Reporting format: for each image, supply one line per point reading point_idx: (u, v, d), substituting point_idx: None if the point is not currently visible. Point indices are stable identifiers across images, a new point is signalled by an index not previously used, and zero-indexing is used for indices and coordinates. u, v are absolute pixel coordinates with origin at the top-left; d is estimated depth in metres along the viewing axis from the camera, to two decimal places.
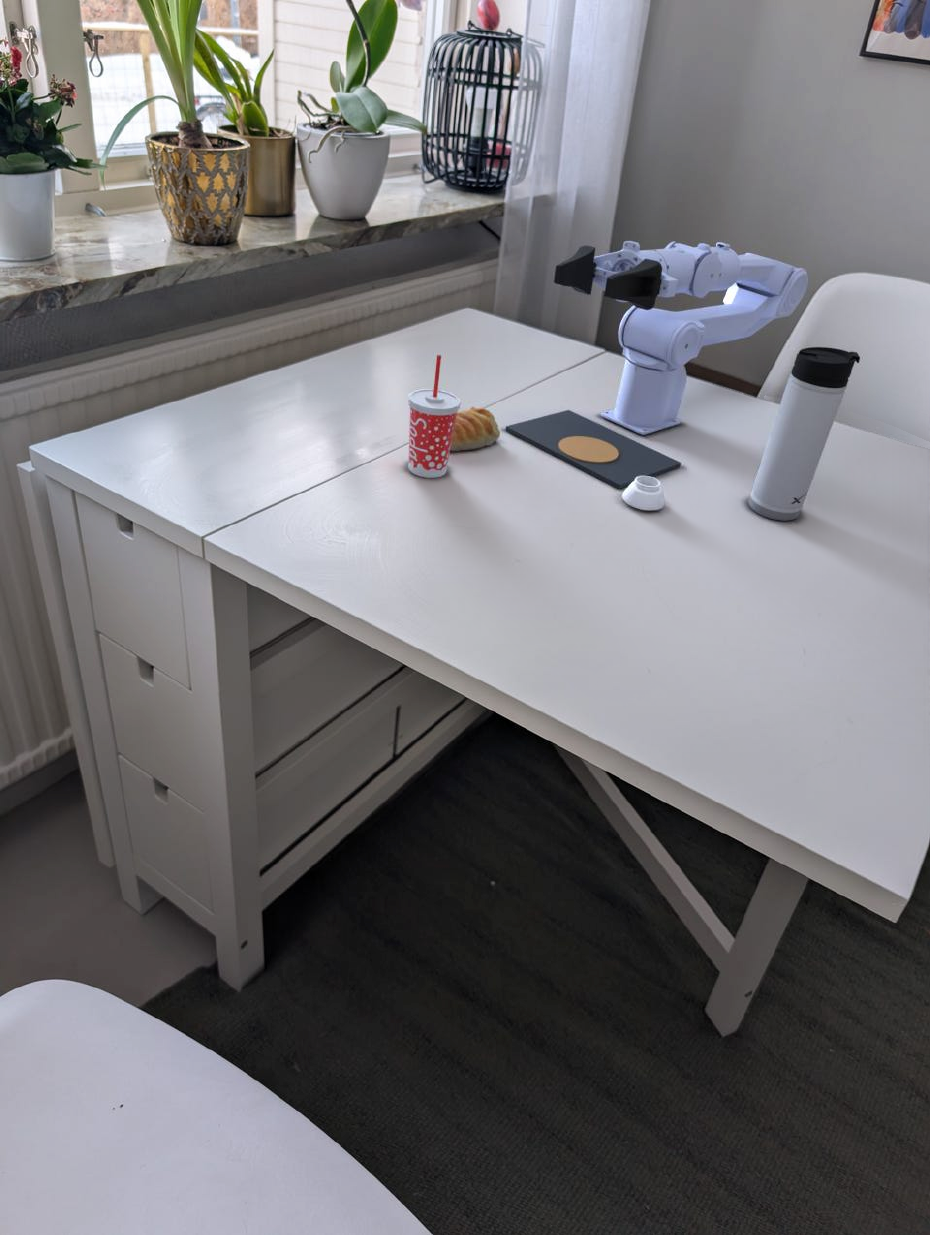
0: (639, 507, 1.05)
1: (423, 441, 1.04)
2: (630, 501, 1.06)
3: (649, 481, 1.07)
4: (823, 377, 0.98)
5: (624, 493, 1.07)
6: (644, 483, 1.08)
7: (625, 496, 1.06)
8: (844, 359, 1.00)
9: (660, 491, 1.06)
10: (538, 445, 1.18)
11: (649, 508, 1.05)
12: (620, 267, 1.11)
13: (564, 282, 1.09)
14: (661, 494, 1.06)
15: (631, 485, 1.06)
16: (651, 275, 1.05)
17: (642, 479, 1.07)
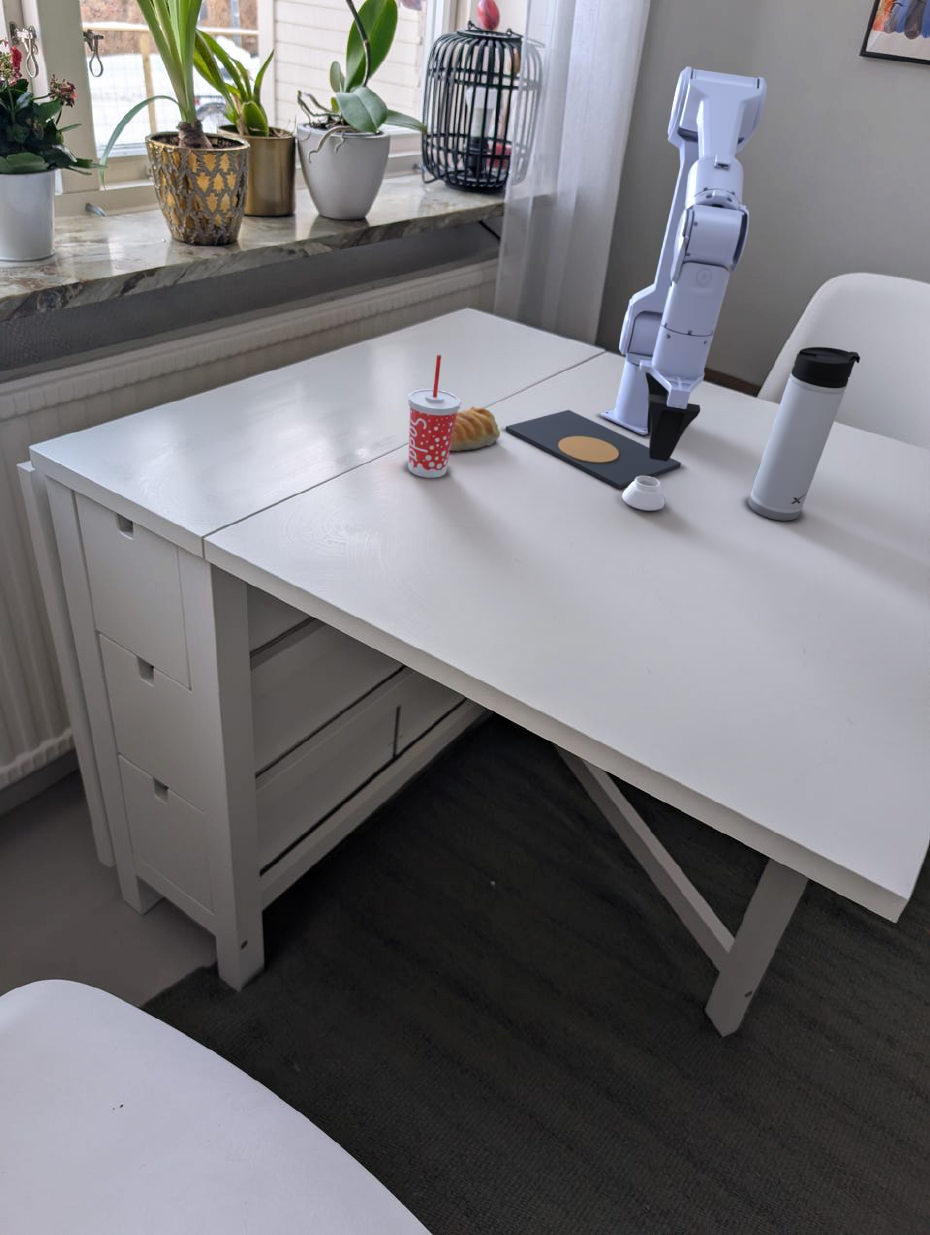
0: (639, 507, 1.05)
1: (423, 441, 1.04)
2: (630, 501, 1.06)
3: (649, 481, 1.07)
4: (823, 377, 0.98)
5: (624, 493, 1.07)
6: (644, 483, 1.08)
7: (625, 496, 1.06)
8: (844, 359, 1.00)
9: (660, 491, 1.06)
10: (538, 445, 1.18)
11: (649, 508, 1.05)
12: None
13: None
14: (661, 494, 1.06)
15: (631, 485, 1.06)
16: (659, 414, 0.95)
17: (642, 479, 1.07)
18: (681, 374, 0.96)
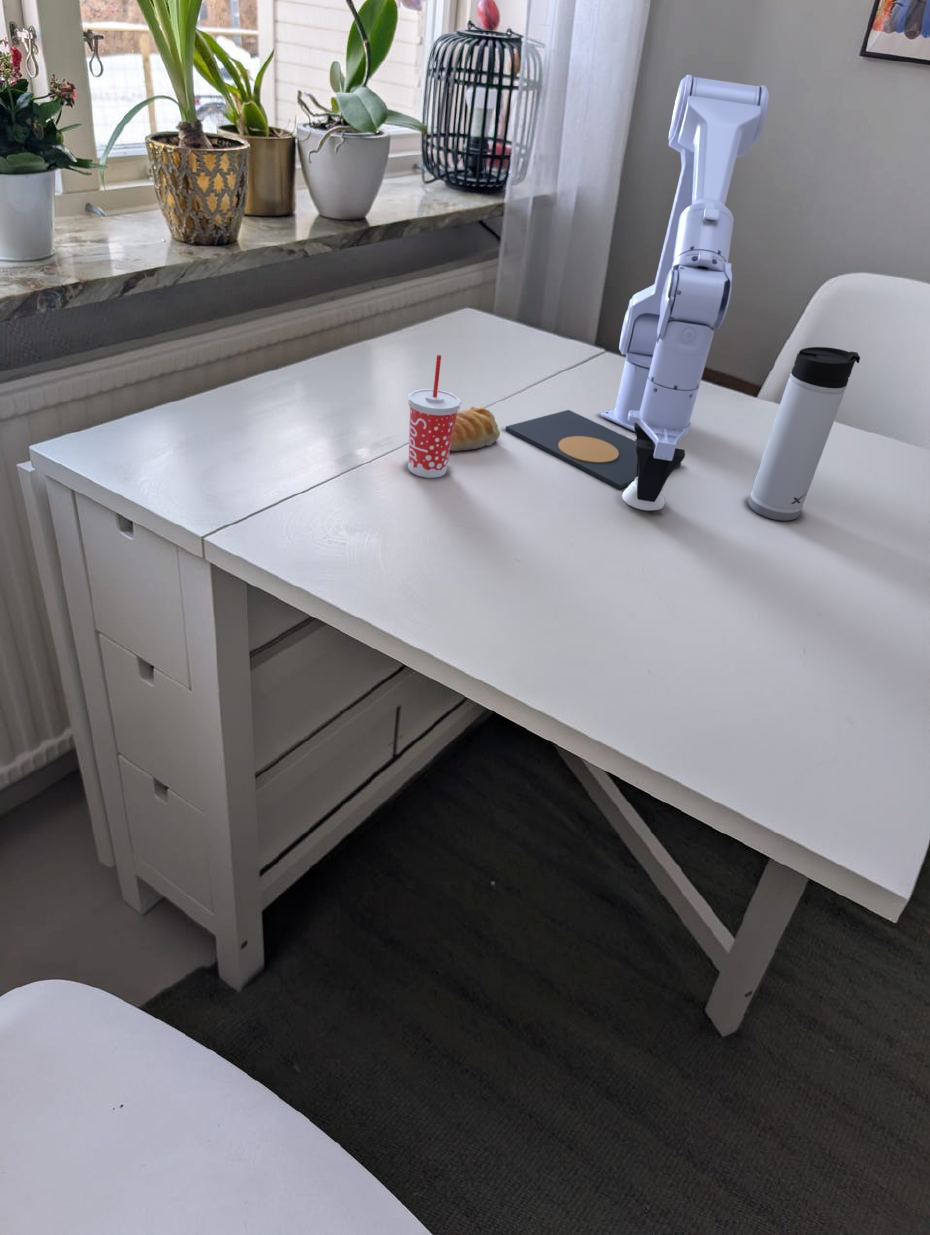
0: (639, 507, 1.05)
1: (423, 441, 1.04)
2: (630, 501, 1.06)
3: None
4: (823, 377, 0.98)
5: (624, 493, 1.07)
6: None
7: (625, 496, 1.06)
8: (844, 359, 1.00)
9: None
10: (538, 445, 1.18)
11: (649, 508, 1.05)
12: None
13: None
14: (661, 494, 1.06)
15: (631, 485, 1.06)
16: (646, 458, 1.00)
17: None
18: (668, 426, 0.99)
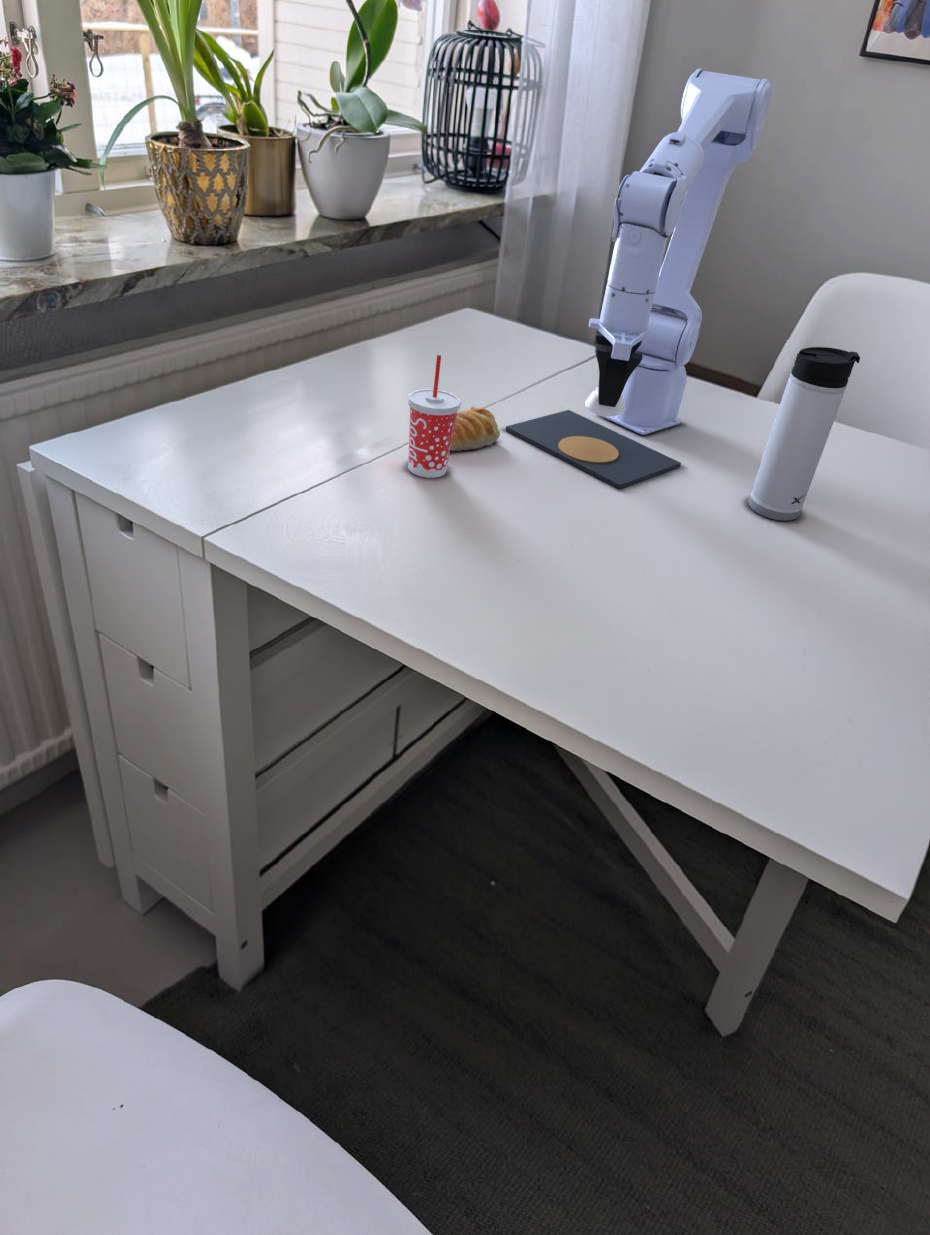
0: (600, 412, 1.10)
1: (423, 441, 1.04)
2: (592, 407, 1.11)
3: None
4: (823, 377, 0.98)
5: (587, 400, 1.12)
6: None
7: (587, 403, 1.12)
8: (844, 359, 1.00)
9: (621, 397, 1.11)
10: (538, 445, 1.18)
11: (610, 413, 1.10)
12: None
13: None
14: (621, 400, 1.11)
15: (593, 392, 1.11)
16: (605, 362, 1.05)
17: None
18: (625, 330, 1.04)
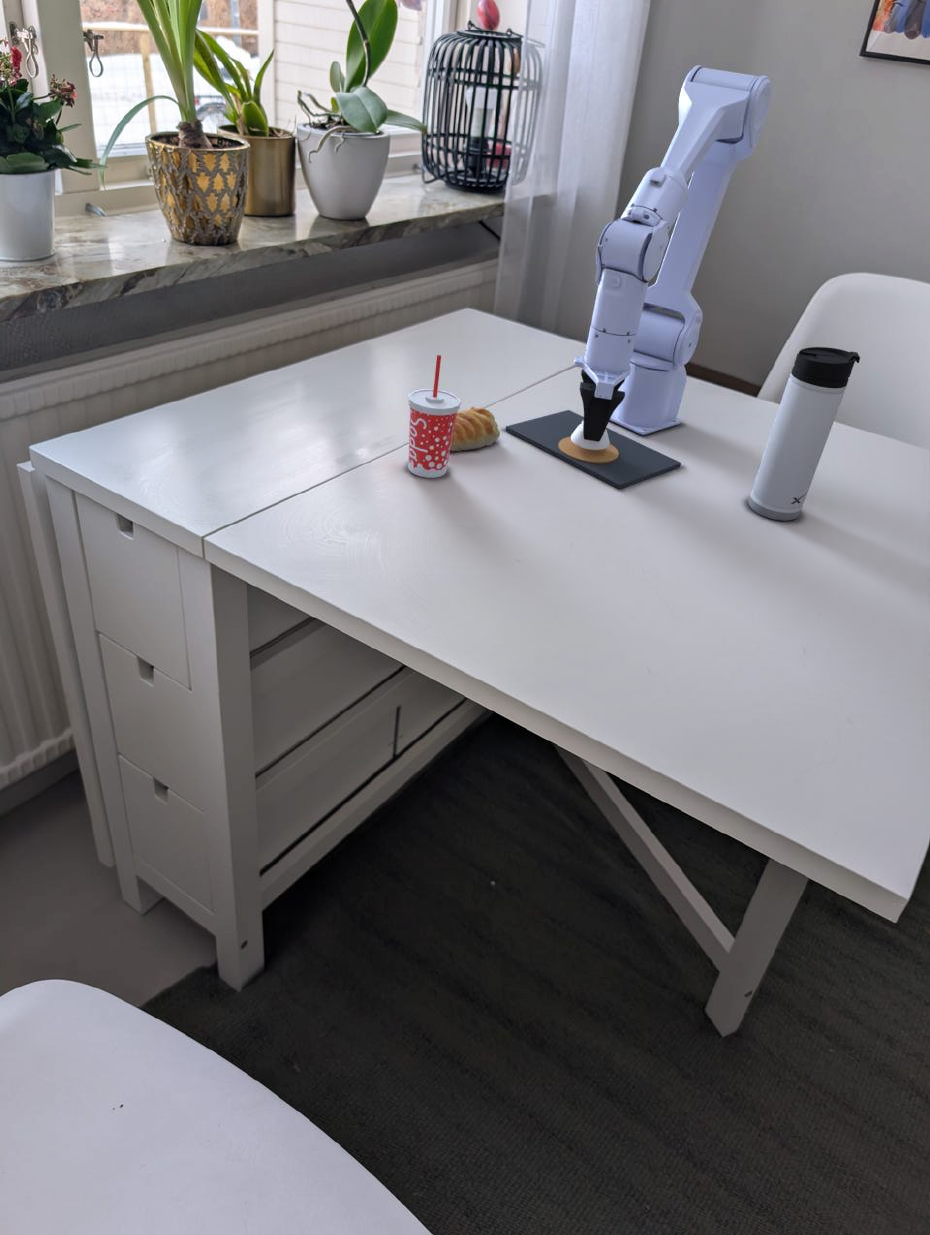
0: (585, 446, 1.15)
1: (423, 441, 1.04)
2: (577, 441, 1.15)
3: None
4: (823, 377, 0.98)
5: (572, 435, 1.16)
6: None
7: (573, 437, 1.16)
8: (844, 359, 1.00)
9: (605, 432, 1.15)
10: (538, 445, 1.18)
11: (594, 447, 1.15)
12: None
13: None
14: (606, 435, 1.15)
15: (578, 427, 1.16)
16: (589, 399, 1.10)
17: None
18: (608, 369, 1.08)
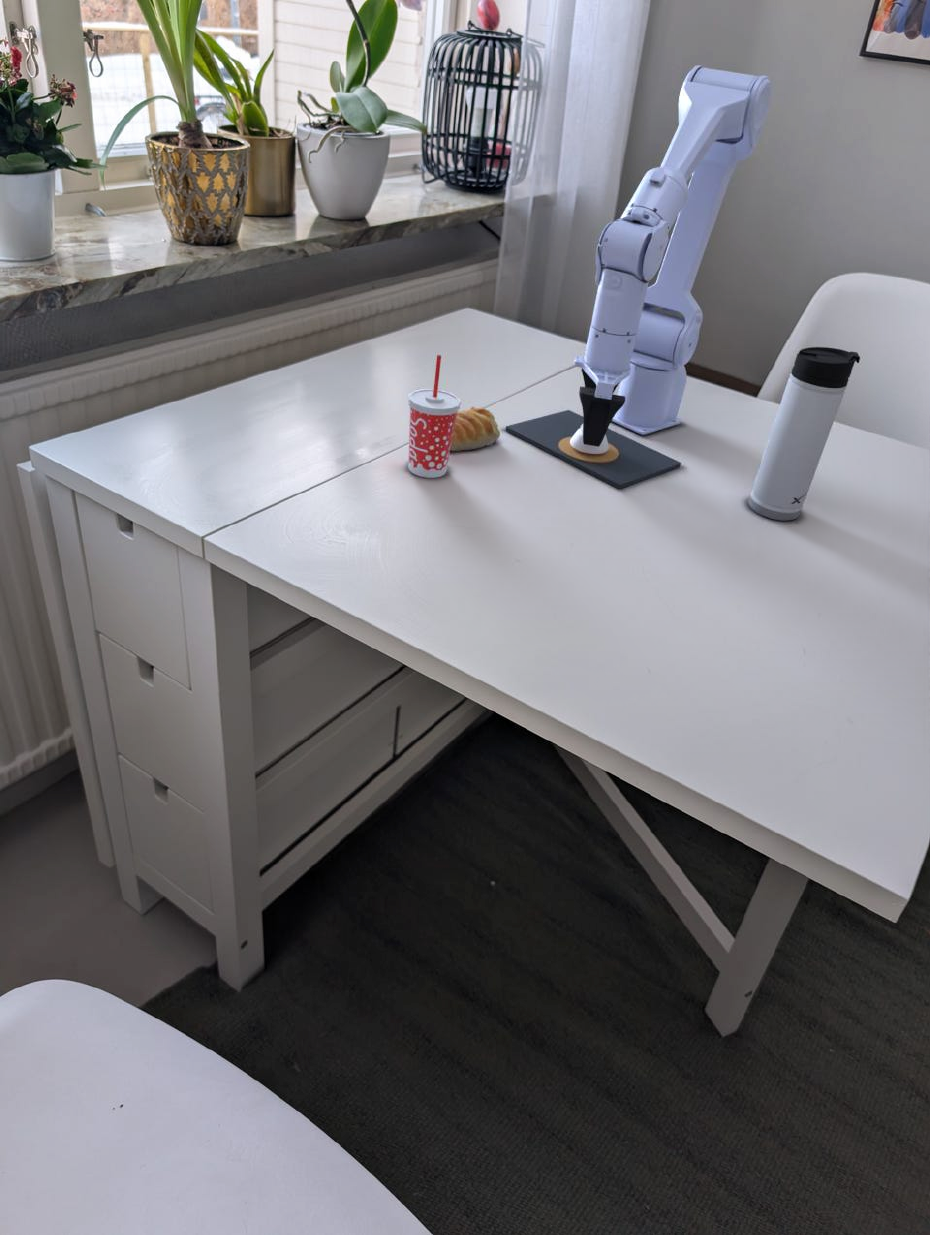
0: (584, 451, 1.15)
1: (423, 441, 1.04)
2: (576, 445, 1.15)
3: None
4: (823, 377, 0.98)
5: (571, 439, 1.17)
6: None
7: (572, 441, 1.16)
8: (844, 359, 1.00)
9: (604, 436, 1.15)
10: (538, 445, 1.18)
11: (593, 452, 1.15)
12: None
13: None
14: (605, 439, 1.16)
15: (577, 431, 1.16)
16: (589, 404, 1.08)
17: None
18: (608, 369, 1.08)
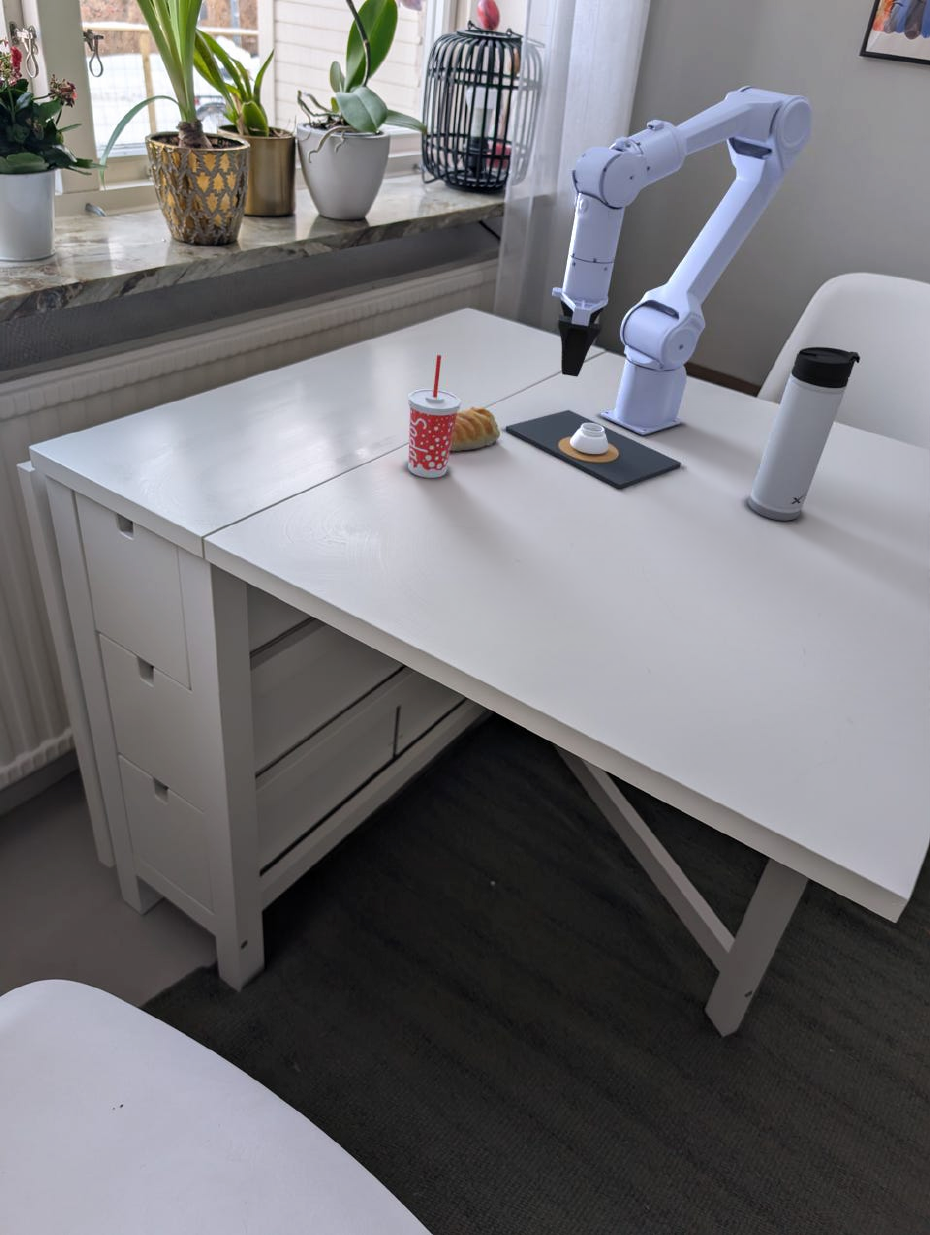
0: (584, 451, 1.15)
1: (423, 441, 1.04)
2: (576, 445, 1.15)
3: (594, 428, 1.17)
4: (823, 377, 0.98)
5: (571, 439, 1.17)
6: (590, 430, 1.18)
7: (572, 441, 1.16)
8: (844, 359, 1.00)
9: (604, 436, 1.15)
10: (538, 445, 1.18)
11: (593, 452, 1.15)
12: None
13: None
14: (605, 439, 1.16)
15: (577, 431, 1.16)
16: (567, 332, 1.10)
17: (588, 426, 1.17)
18: (586, 297, 1.10)
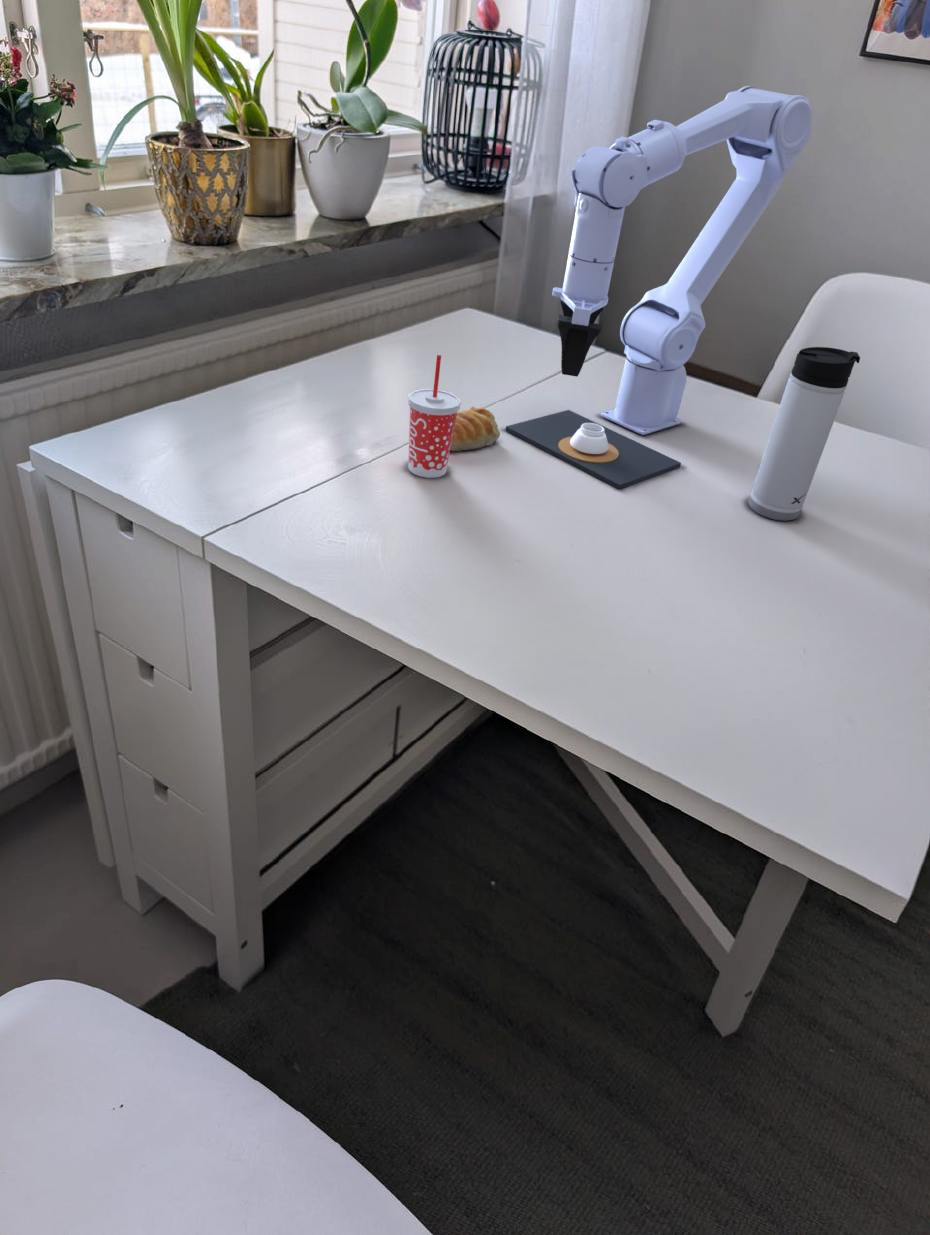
0: (584, 451, 1.15)
1: (423, 441, 1.04)
2: (576, 445, 1.15)
3: (594, 428, 1.17)
4: (823, 377, 0.98)
5: (571, 439, 1.17)
6: (590, 430, 1.18)
7: (572, 441, 1.16)
8: (844, 359, 1.00)
9: (604, 436, 1.15)
10: (538, 445, 1.18)
11: (593, 452, 1.15)
12: None
13: None
14: (605, 439, 1.16)
15: (577, 431, 1.16)
16: (567, 332, 1.10)
17: (588, 426, 1.17)
18: (586, 297, 1.10)
